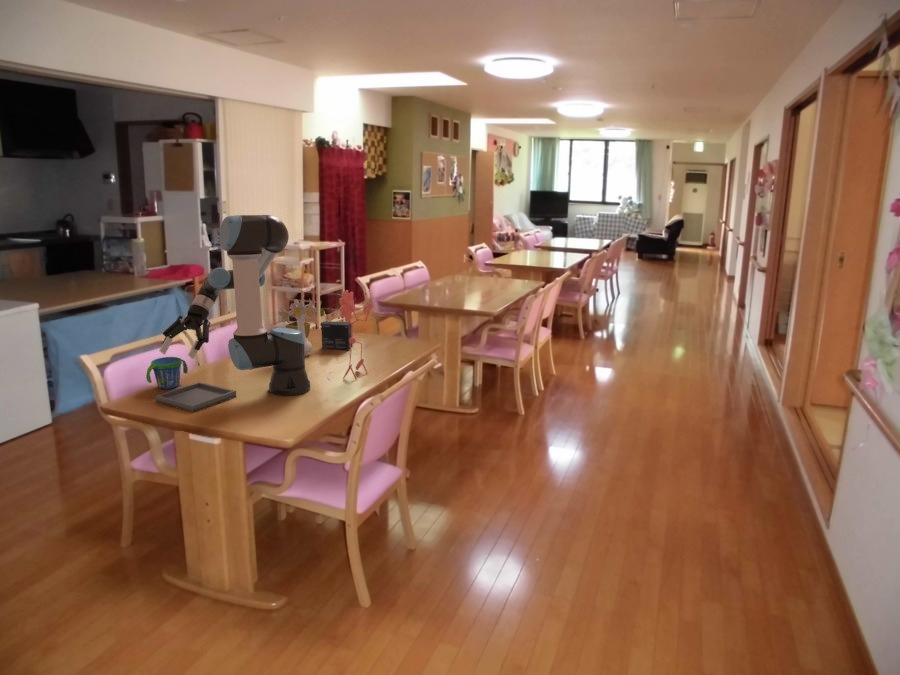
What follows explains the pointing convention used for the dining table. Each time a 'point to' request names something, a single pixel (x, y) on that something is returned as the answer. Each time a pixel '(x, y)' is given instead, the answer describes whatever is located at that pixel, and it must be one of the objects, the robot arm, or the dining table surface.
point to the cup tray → (195, 396)
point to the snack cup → (167, 371)
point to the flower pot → (295, 326)
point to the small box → (336, 335)
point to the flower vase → (300, 318)
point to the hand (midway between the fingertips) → (176, 354)
